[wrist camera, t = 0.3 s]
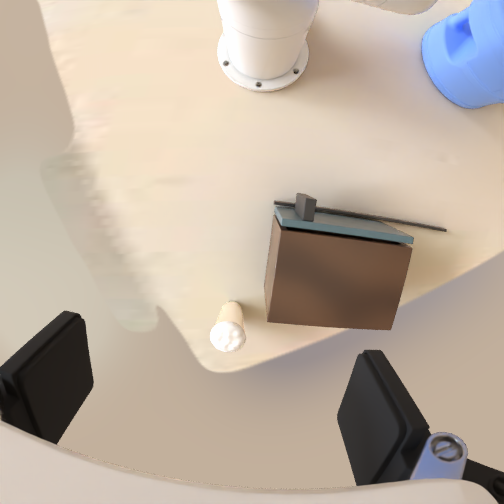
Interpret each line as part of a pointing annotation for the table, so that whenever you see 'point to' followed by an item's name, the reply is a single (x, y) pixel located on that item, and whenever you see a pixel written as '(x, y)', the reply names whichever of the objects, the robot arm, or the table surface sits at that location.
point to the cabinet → (334, 276)
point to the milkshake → (229, 328)
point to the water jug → (468, 54)
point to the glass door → (335, 222)
